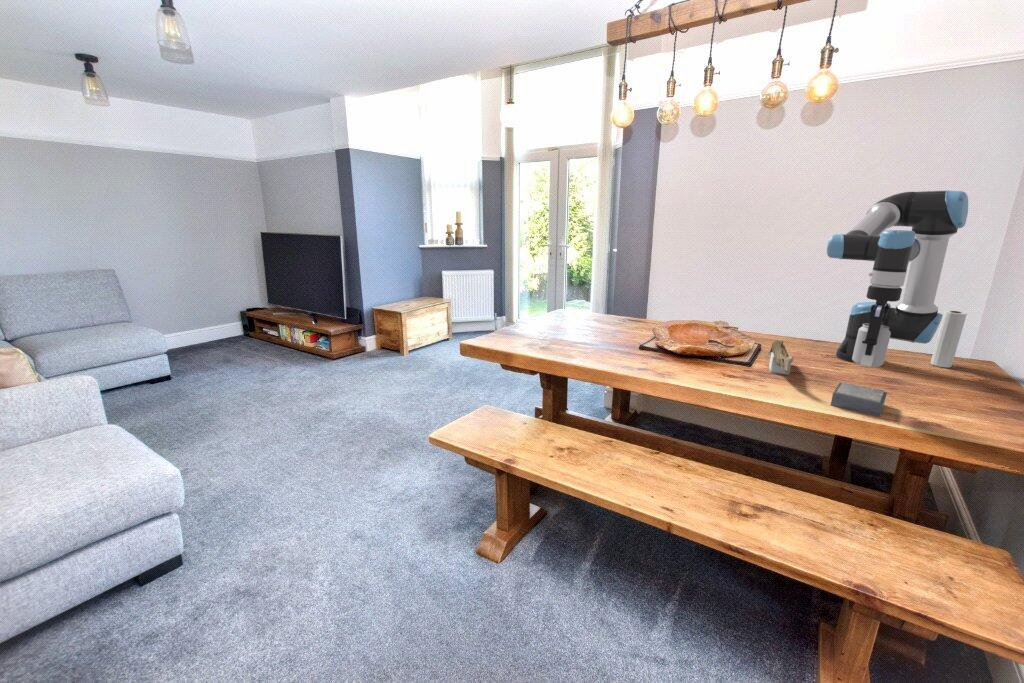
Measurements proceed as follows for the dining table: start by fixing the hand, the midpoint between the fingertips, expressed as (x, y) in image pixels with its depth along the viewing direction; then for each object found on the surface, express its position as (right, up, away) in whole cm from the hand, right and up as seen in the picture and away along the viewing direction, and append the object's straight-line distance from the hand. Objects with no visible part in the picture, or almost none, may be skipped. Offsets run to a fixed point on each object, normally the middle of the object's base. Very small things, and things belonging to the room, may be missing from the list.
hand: (867, 362), depth 135 cm
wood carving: (-8, -6, +31) cm, 33 cm away
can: (0, -1, 0) cm, 1 cm away
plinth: (0, -13, +4) cm, 14 cm away
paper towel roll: (+61, -3, +41) cm, 74 cm away
